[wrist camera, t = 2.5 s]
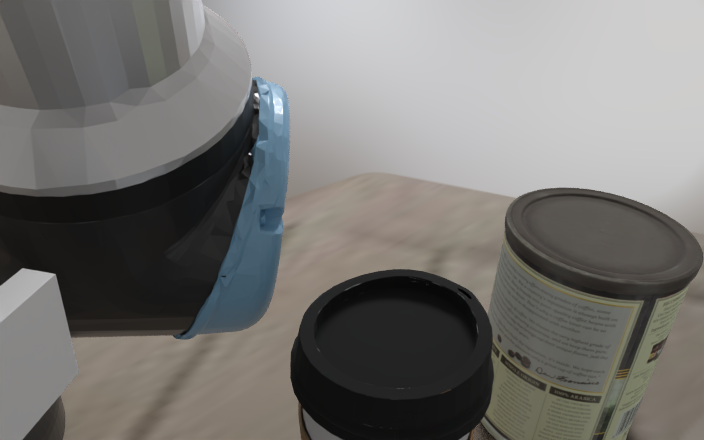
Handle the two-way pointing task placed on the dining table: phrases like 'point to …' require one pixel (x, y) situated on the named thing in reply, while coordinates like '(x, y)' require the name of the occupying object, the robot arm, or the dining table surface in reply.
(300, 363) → the coffee cup
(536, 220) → the coffee can
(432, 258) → the dining table surface
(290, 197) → the dining table surface
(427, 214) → the dining table surface
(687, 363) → the dining table surface
